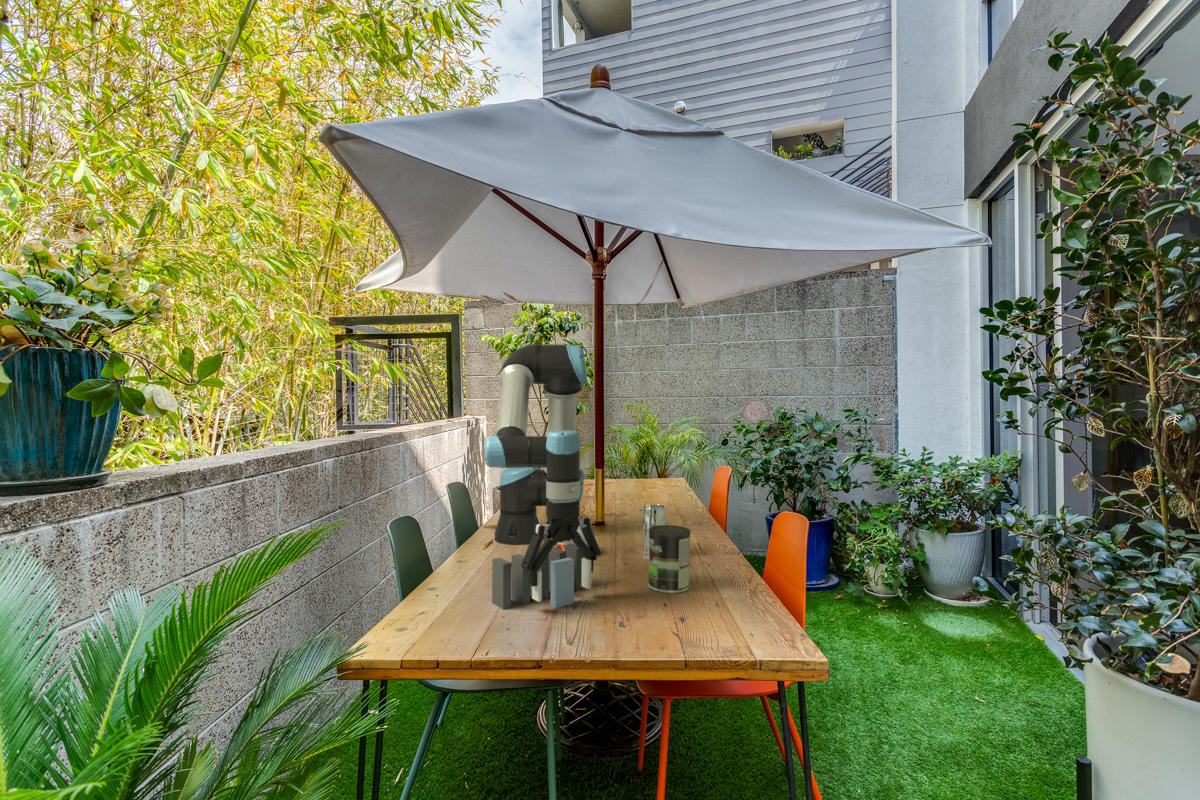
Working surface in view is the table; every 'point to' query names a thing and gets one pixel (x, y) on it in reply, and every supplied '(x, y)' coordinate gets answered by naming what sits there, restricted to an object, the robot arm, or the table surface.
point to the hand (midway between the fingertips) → (562, 593)
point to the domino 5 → (562, 582)
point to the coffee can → (669, 558)
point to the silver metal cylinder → (651, 522)
